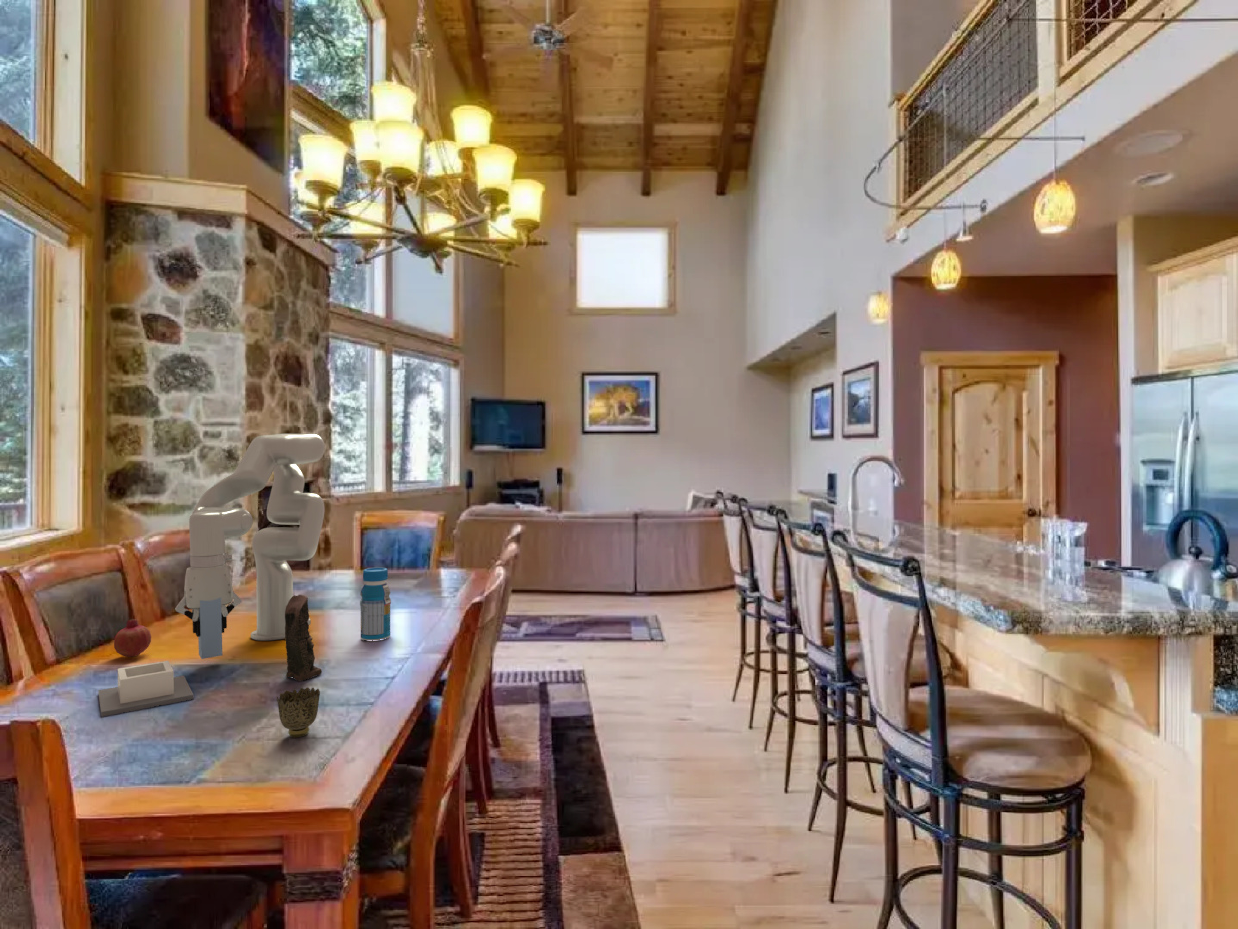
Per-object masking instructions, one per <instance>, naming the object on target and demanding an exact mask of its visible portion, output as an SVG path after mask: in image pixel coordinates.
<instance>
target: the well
mask: <svg viewBox="0 0 1238 929" xmlns="http://www.w3.org/2000/svg"><path fill="white" fill-rule="evenodd" d="M174 673H175V672H174V669H173V667H172V666H171V662H170V661H169V660H163V661H157V662H152V663H145V664H138V665H133V666H132V665H131V666H126V667H119V668H117V687H110V688H106V689H105V688H104V689H100V690H99V689H98V691H97V692H98V700H99V702H98V703H99V710H100V715H101V716H100V717H101V718H102V717H103V718H104V717H108V716H113V715H119V714H122V713H123V712H125V713H129V711H130V712H134V711H139V710H145V709H149V708H150V707H151V708H155V707H154V706H156V707H160V706H159V705H161V706H166V705H170V704H175V703H181V701H182V702H185V701H186V700H187V701H191V699H192V700H194V692H193V691H192V689H191V687H190V685H189V683H188V681H187V678H186V677H185V675H179V676H175V677H174ZM187 701H186V702H187Z"/></svg>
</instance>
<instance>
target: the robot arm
mask: <svg viewBox="0 0 1238 929" xmlns="http://www.w3.org/2000/svg"><path fill="white" fill-rule="evenodd" d="M325 446H326V445H325V441H324V440H323V438H322V437H321V436H320V435H318V434H316V433H276V434H264V435H263V434H262V435H258V436H256V437H255V438H253V439H252V440H251V442H250V444H249V445H248V447H247V449H246V450H245V452H244V454H243V456H242V458H241V459H240V461H239V463H238V464H237V466H236V468H235V470H234V471H233V473H231V474H229V475H228V476H226V477H224V478H223V479H221V480H220V481H218V482H217V483H216V484H213V486H211V487H210V488H209V489H208V490H207V489H206V491H205V492H204V493H203V494H202V496H201V497H200V499H199V500H198V502H197V503H196V505H195V507H194V509H193V511H192V512H191V514H190V516H189V519H188V520H189V521H188V522H189V525H188V526H189V529H188V530H189V556H190V557H189V560H190V561H189V562H190V563H189V564H190V566H189V567H187V568H186V571H185V576H184V592H183V593H184V594H183V597H182V598H181V600H180V601H179V602H178V604H177V605H176V607H175V608H174V609H175V612H177V613H178V614H179V613H180V614H181V615H185V617H187V618H189V619H190V620H191V621H192V633H193V634H195V636H196V637H197V638H198V637H200V620H199V617H198V616H199V612H200V600H202V601H211V600H215V599H218V598H220V597H221V617H222V634H224V633H225V629H227V628H228V627H227V626H228V625H227V624H228V623H227V622H228V621H227V618H228V616H229V614H230V613H231V612H232V611H233V610H234V609H235V608H236V607H237V606H239V605H240V604H241V603H242V602H243V601H242V599H241V598H240V597H239V595H237V593H236V592H235V591H233V582H232V581H233V580H232V574H231V570H230V565H229V564H228V563H227V562H228V561H232V560H233V554H232V553H231V554H227V553H226V538H233V537H234V538H236V537H241V536H243V535H247V533H248V532H249V531H250V530H251V529H252V526H253V523H254V521H253V520H254V519H253V516H252V514H251V513H250V512H249V511H248V510H246V509H245V508H241V507H226V505H228V504H229V503H231V502H233V501H236V500H238V499H242V498H244V497H248V496H251V495H253V494H255V493H258V492H260V491H263V489H265V487H266V486H267V484H268V482H269V480H270V478H271V476H272V474H273V481H272V482H273V483H272V486H271V490H270V494H269V498H268V499H269V500H268V502H267V503H268V504H267V508H266V518H267V520H268V522H271V523H272V524H275V525H290V526H291V525H292V526H294V525H295V526H297V525H299V527H288V526H287V527H285V526H283V527H280V526H279V527H278V526H277V527H275V526H273V527H272V526H271V527H265V528H261V529H260V530H258V531H257V532H255V534H254V536H253V538H252V541H251V542H252V544H251V546H252V554H253V557H254V561H255V571H256V629H255V630H254V631H252V632H251V633H250V638H251V639H252V640H253V641H254V640H255V641H277V640H285V610H286V606H287V604H288V602H289V600H290V599H291V598H292V596H294V576H293V575H294V574H293V571H292V568H291V566H290V565H289V563H288V562H287V561H308V560H310V559H312V558H313V557H314V556H315V554H316V553H317V549H318V546H319V541H320V536H321V532H322V528H323V522H324V518H325V502H324V500H323V498H322V497H321V496H320V495H319V494H317V493H312V492H304V489H305V481H306V480H305V476H304V474H303V471H301V469H300V468H299V466H298V465H304V464H311V463H316V462H319V461H320V460H321V459H322V458H323V456H324V454H325V449H326V448H325ZM185 606H186V608H185ZM190 610H192V611H190ZM311 622H312V621H311V618H310V617H309V620H308V624H309V626H310V625H311Z"/></svg>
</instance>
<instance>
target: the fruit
mask: <svg viewBox="0 0 1238 929" xmlns="http://www.w3.org/2000/svg"><path fill="white" fill-rule="evenodd" d="M113 642H114V643H113V645H114V651H115V652H116V653H117V654H119V655H120V656H123V657H127V658H129V657H130V658H134V657H133V656H135V657H137V656H139V655H140V654H142V653H144V651H146V650H147V649H148V648H149V646H150V644H151V643H152V634H151V631H150V630H149V628H148V627H146V626H144V625H140V624H139V620H137V619H136V618H131V619H128V620H127V621H126V626H125V627H124V628H122V629H120V630H119V631H118V632H117V633H116V635H115V636H114V640H113Z"/></svg>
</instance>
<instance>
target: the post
mask: <svg viewBox="0 0 1238 929" xmlns="http://www.w3.org/2000/svg"><path fill="white" fill-rule="evenodd" d="M198 617H199V620H200V637H197V639H198V655H199V657H200V659H201V660H205V659H210V658H217V657H221V656H223V633H222V617H221V597H220V598H218V599H215V600H211V601H202V600H200V612H199V616H198Z"/></svg>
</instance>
